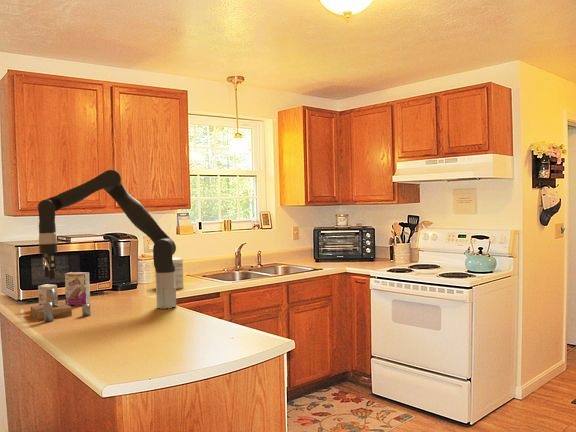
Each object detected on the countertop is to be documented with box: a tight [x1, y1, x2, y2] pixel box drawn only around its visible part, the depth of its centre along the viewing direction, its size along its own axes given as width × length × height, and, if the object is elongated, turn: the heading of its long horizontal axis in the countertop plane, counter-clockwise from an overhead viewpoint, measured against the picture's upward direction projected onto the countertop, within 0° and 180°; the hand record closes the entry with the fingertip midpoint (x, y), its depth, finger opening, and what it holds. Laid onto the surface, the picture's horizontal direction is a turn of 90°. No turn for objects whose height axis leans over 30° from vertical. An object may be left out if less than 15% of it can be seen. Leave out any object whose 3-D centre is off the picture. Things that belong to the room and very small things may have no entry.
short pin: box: [81, 303, 92, 318], centre depth 232 cm, size 4×4×5 cm
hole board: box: [30, 301, 73, 322], centre depth 235 cm, size 16×14×4 cm
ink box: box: [37, 283, 59, 305], centre depth 251 cm, size 9×5×12 cm, turn 62°
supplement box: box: [172, 256, 184, 290], centre depth 307 cm, size 13×13×18 cm
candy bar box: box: [64, 271, 91, 306], centre depth 260 cm, size 11×5×16 cm, turn 84°
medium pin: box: [43, 302, 54, 323], centre depth 222 cm, size 4×4×8 cm
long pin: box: [46, 289, 55, 307], centre depth 235 cm, size 4×4×12 cm
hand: (49, 277), depth 235 cm, fingers open, 8 cm apart
